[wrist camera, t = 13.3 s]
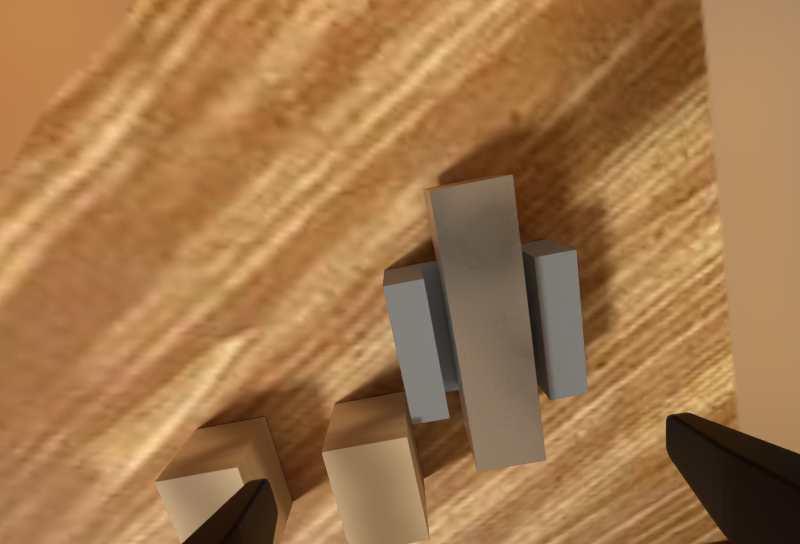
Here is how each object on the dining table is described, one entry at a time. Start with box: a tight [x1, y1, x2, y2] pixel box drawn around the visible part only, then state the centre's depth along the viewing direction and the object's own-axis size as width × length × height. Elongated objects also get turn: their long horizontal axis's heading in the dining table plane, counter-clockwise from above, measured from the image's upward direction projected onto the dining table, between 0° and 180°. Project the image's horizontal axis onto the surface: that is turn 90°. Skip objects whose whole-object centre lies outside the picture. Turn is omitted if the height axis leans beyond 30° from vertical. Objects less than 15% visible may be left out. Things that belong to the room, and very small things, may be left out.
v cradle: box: [383, 239, 588, 425], centre depth 18 cm, size 8×7×3 cm
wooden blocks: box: [155, 391, 430, 544], centre depth 20 cm, size 12×6×4 cm, turn 101°
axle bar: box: [423, 174, 546, 472], centre depth 17 cm, size 13×3×3 cm, turn 11°
